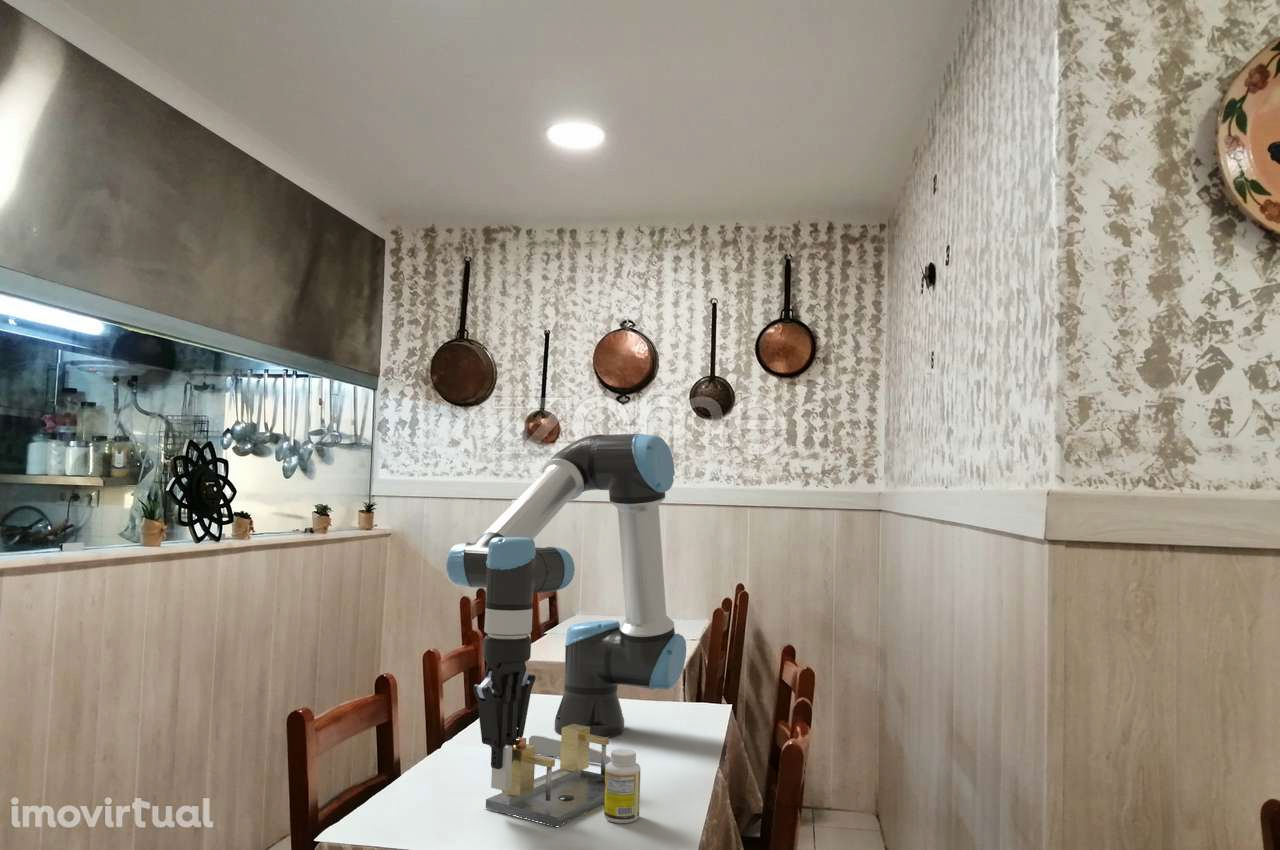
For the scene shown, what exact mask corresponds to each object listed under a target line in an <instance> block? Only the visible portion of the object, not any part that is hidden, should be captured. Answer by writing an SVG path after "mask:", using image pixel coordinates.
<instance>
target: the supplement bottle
mask: <svg viewBox="0 0 1280 850" xmlns="http://www.w3.org/2000/svg"><path fill="white" fill-rule="evenodd" d="M610 757H611V758H610V759H611V762H609V763H608V764H607V765H606V769H605V803H604V804H603V807H604V811H603V813H604V818H605V819H606V820H607V821H609V822H610V823H611V822H612V823H615V824H629V823H634V822H636V821H637V820H638V819H639V817H640V798H641V796H640V794H641V766H640V764H639V763H638V762H637V752H636V751H635V750H633V749H630V748H614V749H612V750H611V752H610Z"/></svg>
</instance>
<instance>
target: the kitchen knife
mask: <svg viewBox="0 0 1280 850" xmlns="http://www.w3.org/2000/svg"><path fill="white" fill-rule="evenodd" d="M527 744H528V745H533V746H536V747H535V755H537V754H541V755H540V756H542V755H547V756H546V757H549V756H554V757H559V758H561V739H556V738H551V737H548V736H544V735H539V734H538V735H537V734H533V735H531V736H530V737H528V743H527ZM601 752H602V751H600V750H598V749H595V748H593V747H589V763H594V764H600V765H601ZM554 757H553V758H554ZM559 758H558V759H559ZM610 758H611V756H610V755H608V754H606V765H607V764H608V763H609V762H611V759H610Z"/></svg>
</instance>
